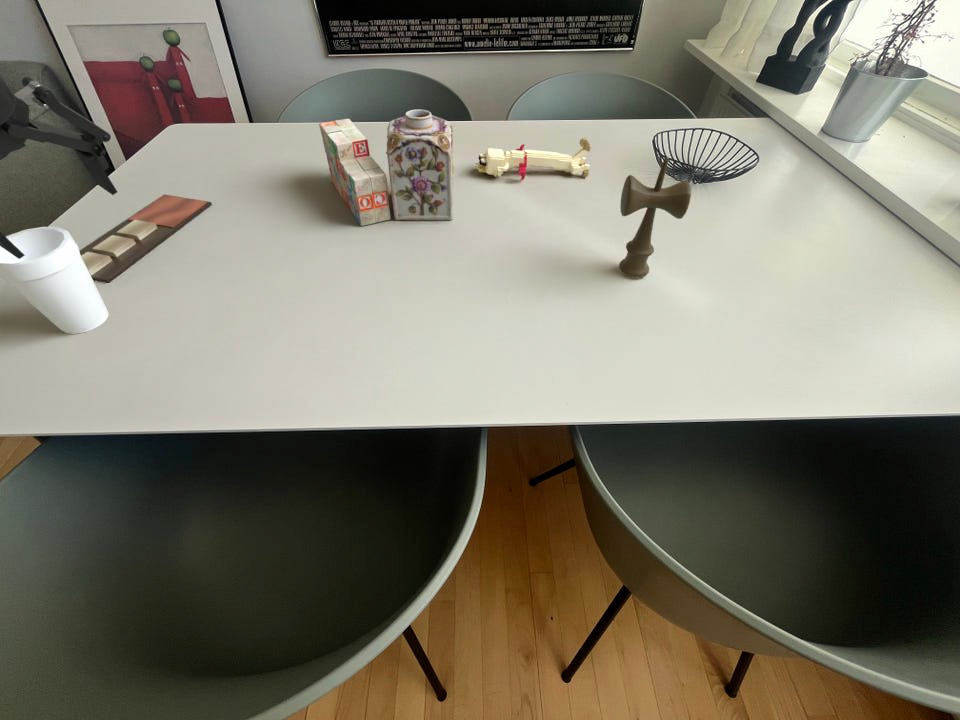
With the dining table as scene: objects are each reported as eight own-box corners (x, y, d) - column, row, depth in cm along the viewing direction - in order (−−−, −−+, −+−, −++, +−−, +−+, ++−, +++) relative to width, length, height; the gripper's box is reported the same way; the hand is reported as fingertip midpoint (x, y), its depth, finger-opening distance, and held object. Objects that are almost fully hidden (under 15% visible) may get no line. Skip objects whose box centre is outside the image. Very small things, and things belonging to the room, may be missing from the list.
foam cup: (63, 303, 75) (6, 229, 66) (128, 297, 76) (80, 223, 67) (36, 344, 69) (-32, 269, 59) (107, 337, 70) (51, 263, 60)
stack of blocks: (392, 220, 94) (384, 157, 85) (361, 227, 92) (349, 164, 83) (358, 175, 107) (348, 116, 98) (331, 180, 105) (318, 121, 96)
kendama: (604, 259, 86) (631, 146, 72) (658, 263, 85) (697, 150, 71) (606, 279, 82) (635, 163, 67) (663, 283, 81) (705, 168, 67)
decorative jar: (393, 221, 94) (381, 125, 81) (398, 192, 102) (388, 101, 89) (454, 221, 94) (452, 125, 81) (454, 192, 102) (452, 101, 89)
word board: (53, 272, 81) (47, 264, 79) (165, 197, 99) (161, 189, 98) (108, 283, 79) (103, 275, 78) (212, 204, 97) (209, 197, 96)
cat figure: (578, 168, 114) (474, 160, 111) (588, 130, 108) (478, 121, 105) (587, 188, 107) (476, 180, 104) (598, 149, 101) (480, 139, 98)
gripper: (-181, 170, 38) (-6, 299, 57) (94, 34, 49) (163, 180, 68) (-259, 115, 38) (-59, 263, 57) (33, -8, 49) (119, 150, 68)
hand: (62, 218), depth 62 cm, fingers open, 13 cm apart
